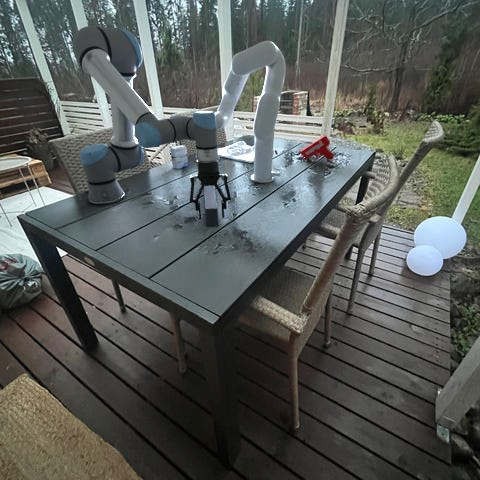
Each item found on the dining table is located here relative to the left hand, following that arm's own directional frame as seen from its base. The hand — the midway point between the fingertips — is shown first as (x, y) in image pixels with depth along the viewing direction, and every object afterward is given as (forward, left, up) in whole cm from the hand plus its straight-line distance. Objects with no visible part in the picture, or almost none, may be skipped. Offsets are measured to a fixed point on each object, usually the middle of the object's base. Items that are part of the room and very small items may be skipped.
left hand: (211, 216), depth 108 cm
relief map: (-26, +93, -1) cm, 96 cm away
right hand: (-25, +44, +1) cm, 51 cm away
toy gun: (+25, +98, -1) cm, 101 cm away
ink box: (-49, +53, -1) cm, 72 cm away
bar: (-13, +22, -1) cm, 25 cm away
